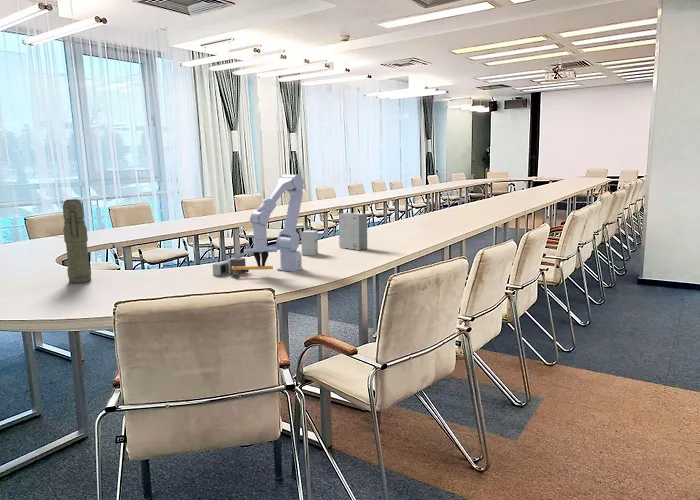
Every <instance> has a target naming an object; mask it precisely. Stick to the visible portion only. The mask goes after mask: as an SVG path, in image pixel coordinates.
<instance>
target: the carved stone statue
mask: <svg viewBox="0 0 700 500" xmlns="http://www.w3.org/2000/svg"><path fill="white" fill-rule="evenodd" d="M62 214H63V215H62V216H63V220H64V222H63V223H64V225H63V230H62V231H63V239H64V240H63V241H64V243H65V247H66V255H67V256H66V257H67V265H68V266H67V269H66V270H67V277H68V283H69V284H73V285H76V284H79V285H80V284H86V283H89V282H91V281H92V268H91V265H90V262H89V251H88V250H89V249H88V240H89V239H88V229H87V225H86V224H85V220H84V219H85V214H84V205H83V203H82V201H81V200H80V199H76V198H72V199H65V200H63V203H62Z"/></svg>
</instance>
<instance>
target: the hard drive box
mask: <svg viewBox="0 0 700 500" xmlns="http://www.w3.org/2000/svg"><path fill="white" fill-rule="evenodd" d="M338 235H339V237H338V239H339V244H338V245H339V247H341V248H340V249H345V248H348V249H347V250H353V249H355V250H354V251H362V249H363V250H367V249H368V214H367V213H360V212H359V213H358V212H357V213H356V212H342V213H339V214H338ZM366 248H367V249H366Z"/></svg>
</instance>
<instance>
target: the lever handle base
mask: <svg viewBox="0 0 700 500" xmlns="http://www.w3.org/2000/svg"><path fill="white" fill-rule="evenodd" d="M230 278H232V279H238V278H240V274H238V272H237V270H233V274H232V275H231V276H230Z"/></svg>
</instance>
